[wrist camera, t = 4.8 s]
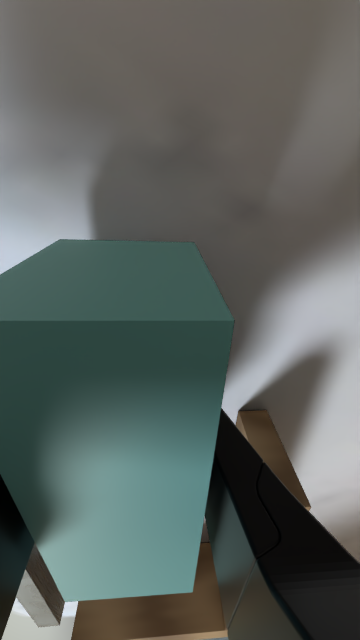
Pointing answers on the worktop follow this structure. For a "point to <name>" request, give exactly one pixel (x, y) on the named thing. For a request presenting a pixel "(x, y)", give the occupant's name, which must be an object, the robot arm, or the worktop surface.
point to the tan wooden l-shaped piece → (204, 602)
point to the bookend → (40, 592)
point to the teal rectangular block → (112, 410)
